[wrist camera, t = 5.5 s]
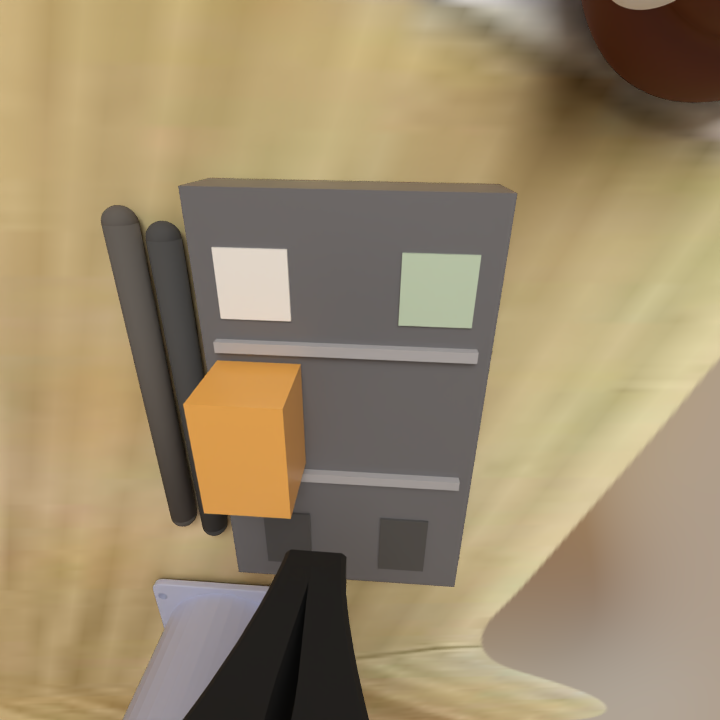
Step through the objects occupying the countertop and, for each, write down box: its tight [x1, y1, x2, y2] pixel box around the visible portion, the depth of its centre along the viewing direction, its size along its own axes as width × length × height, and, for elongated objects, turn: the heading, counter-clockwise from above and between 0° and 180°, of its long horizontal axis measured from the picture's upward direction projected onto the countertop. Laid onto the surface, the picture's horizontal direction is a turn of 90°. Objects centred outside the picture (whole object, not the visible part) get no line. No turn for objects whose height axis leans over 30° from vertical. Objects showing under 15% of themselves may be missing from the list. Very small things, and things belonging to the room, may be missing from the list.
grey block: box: [178, 178, 517, 587], centre depth 18 cm, size 17×10×3 cm, turn 179°
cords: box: [101, 205, 228, 536], centre depth 19 cm, size 16×3×1 cm, turn 179°
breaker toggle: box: [183, 360, 306, 519], centre depth 16 cm, size 4×3×3 cm
